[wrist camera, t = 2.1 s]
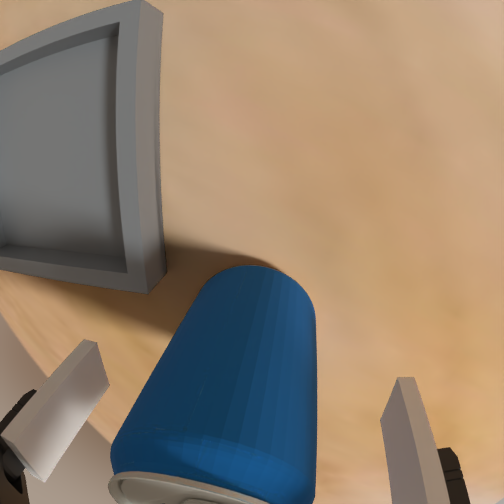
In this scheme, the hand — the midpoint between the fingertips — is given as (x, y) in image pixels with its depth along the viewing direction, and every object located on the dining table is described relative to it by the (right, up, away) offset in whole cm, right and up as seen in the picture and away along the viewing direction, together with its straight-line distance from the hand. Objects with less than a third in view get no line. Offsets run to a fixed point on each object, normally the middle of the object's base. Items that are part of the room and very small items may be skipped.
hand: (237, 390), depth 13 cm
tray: (-11, +12, +3) cm, 16 cm away
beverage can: (+1, +2, +5) cm, 6 cm away
